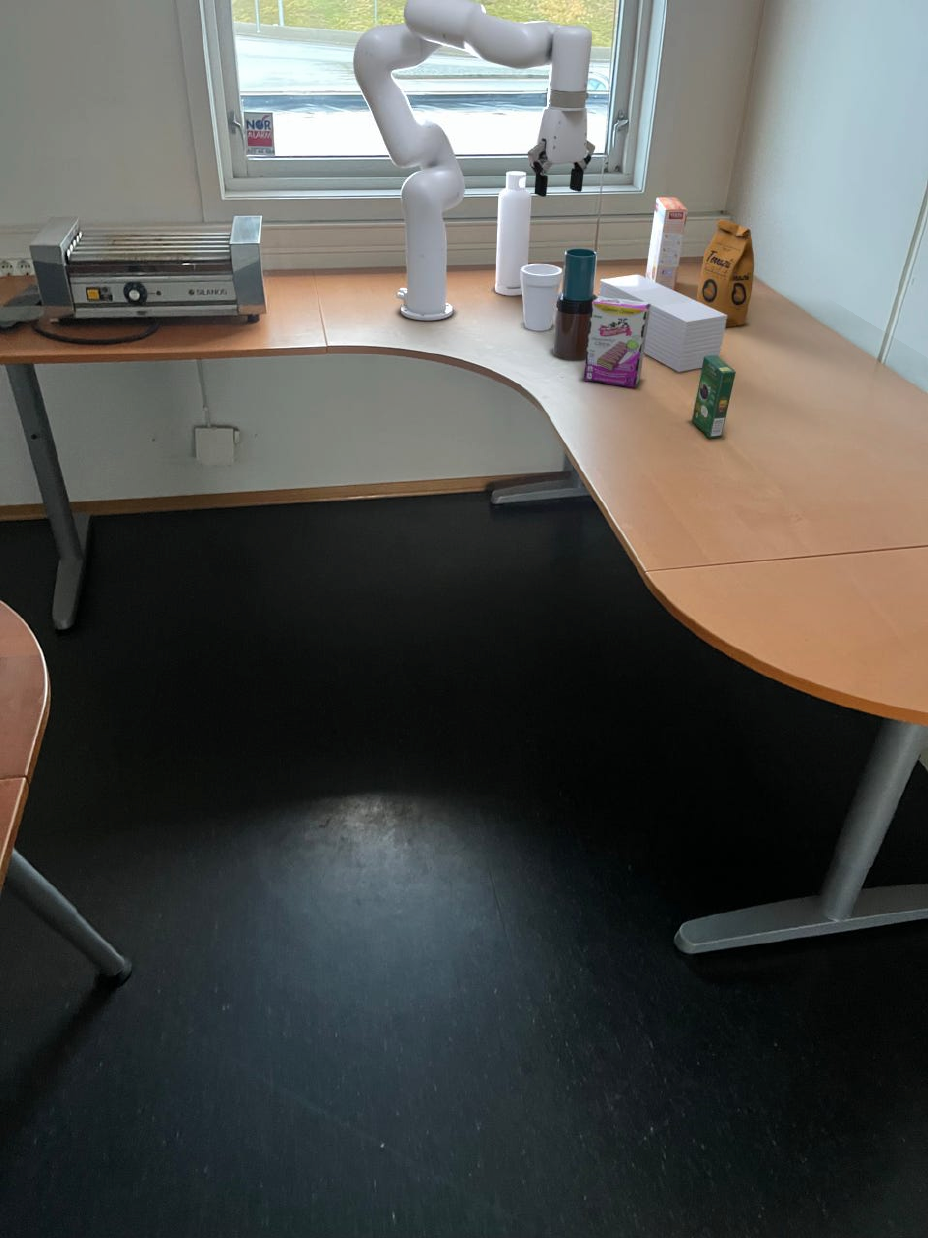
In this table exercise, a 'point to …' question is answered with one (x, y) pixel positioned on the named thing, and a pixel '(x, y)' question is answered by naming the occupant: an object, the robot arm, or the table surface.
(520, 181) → the bottle
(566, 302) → the jar lid
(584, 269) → the cup
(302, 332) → the table surface
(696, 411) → the coffee box
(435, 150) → the robot arm
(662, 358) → the stack of papers
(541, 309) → the foam cup
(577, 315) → the jar
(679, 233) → the cracker box
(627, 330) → the candy bar box
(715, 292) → the coffee package
